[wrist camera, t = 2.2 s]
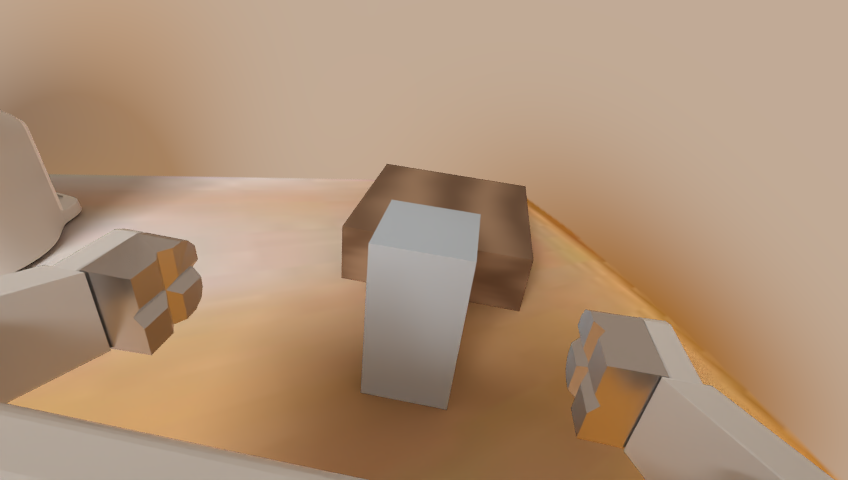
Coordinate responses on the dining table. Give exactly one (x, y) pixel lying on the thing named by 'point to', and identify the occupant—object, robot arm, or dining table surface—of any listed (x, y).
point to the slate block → (417, 301)
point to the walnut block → (496, 202)
